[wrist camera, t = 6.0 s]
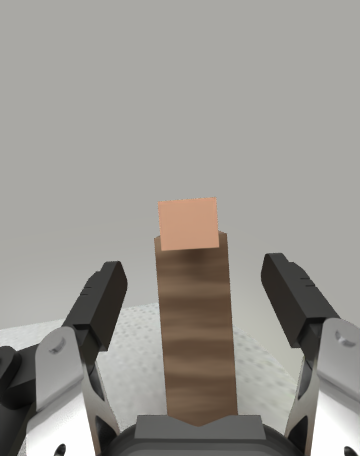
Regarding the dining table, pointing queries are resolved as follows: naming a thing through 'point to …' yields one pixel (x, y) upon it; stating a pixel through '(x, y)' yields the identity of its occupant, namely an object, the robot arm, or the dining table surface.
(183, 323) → the stand
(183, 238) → the peach-coloured block
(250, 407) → the dining table surface
